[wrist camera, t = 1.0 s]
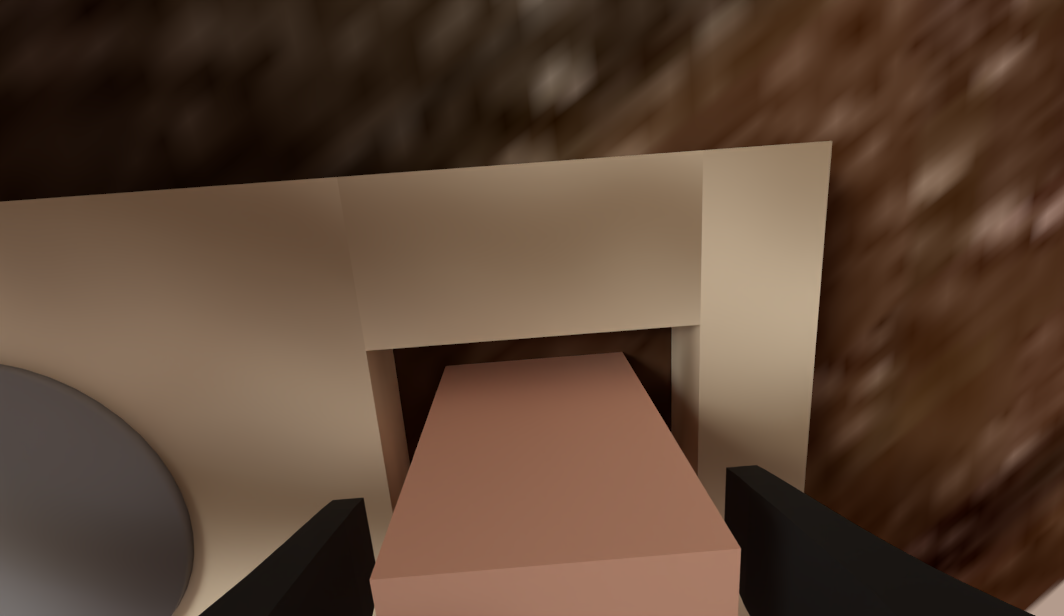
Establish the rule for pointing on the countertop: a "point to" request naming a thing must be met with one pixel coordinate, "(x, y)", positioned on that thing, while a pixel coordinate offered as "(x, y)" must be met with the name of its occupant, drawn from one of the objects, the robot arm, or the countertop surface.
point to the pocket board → (362, 345)
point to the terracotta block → (552, 502)
